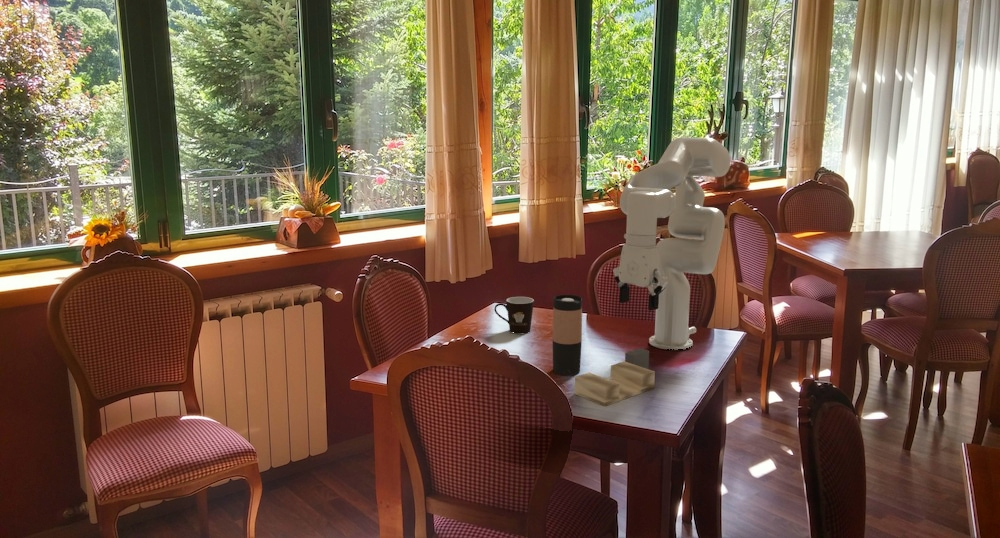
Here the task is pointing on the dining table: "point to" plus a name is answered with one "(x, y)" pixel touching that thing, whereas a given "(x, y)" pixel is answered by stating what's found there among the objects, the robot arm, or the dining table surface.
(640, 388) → the notched board
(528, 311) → the coffee mug
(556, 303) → the travel mug
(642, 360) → the tab
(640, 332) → the dining table surface
